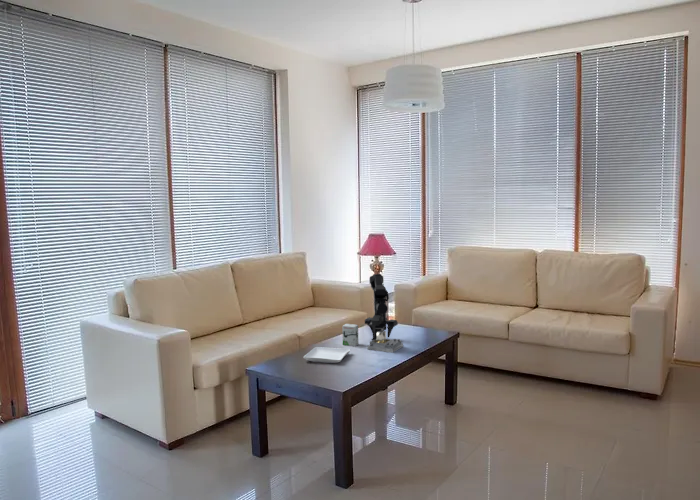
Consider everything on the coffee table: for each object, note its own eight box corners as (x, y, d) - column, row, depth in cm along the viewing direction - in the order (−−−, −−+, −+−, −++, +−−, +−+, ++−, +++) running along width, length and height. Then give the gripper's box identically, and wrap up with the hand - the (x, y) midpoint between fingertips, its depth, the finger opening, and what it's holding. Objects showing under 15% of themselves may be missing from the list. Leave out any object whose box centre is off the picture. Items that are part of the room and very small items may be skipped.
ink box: (342, 345, 321) (341, 325, 320) (345, 342, 326) (344, 323, 324) (355, 346, 318) (355, 326, 317) (358, 344, 322) (358, 324, 321)
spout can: (374, 344, 313) (374, 330, 312) (379, 342, 317) (379, 327, 316) (383, 345, 310) (383, 331, 309) (387, 343, 315) (387, 328, 314)
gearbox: (367, 349, 310) (367, 341, 310) (378, 343, 323) (378, 335, 322) (392, 352, 303) (392, 344, 302) (402, 346, 315) (402, 338, 314)
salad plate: (351, 354, 303) (351, 348, 303) (340, 365, 283) (340, 359, 282) (315, 352, 309) (315, 346, 308) (302, 363, 288) (302, 357, 288)
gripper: (359, 311, 309) (360, 338, 311) (389, 314, 300) (389, 341, 301) (368, 307, 319) (369, 333, 320) (397, 310, 310) (398, 337, 311)
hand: (381, 336), depth 313 cm, fingers open, 9 cm apart
